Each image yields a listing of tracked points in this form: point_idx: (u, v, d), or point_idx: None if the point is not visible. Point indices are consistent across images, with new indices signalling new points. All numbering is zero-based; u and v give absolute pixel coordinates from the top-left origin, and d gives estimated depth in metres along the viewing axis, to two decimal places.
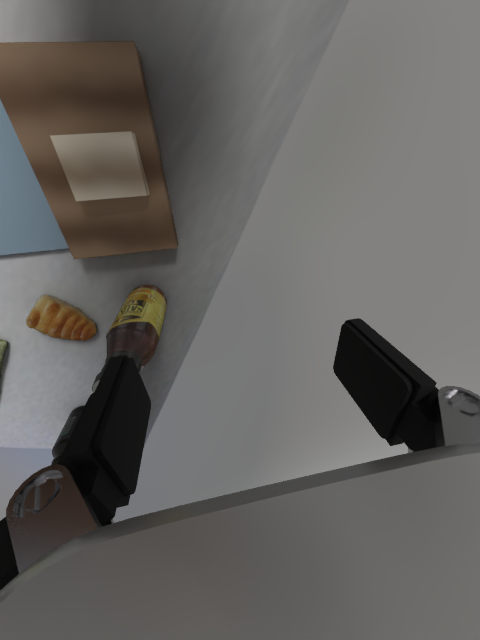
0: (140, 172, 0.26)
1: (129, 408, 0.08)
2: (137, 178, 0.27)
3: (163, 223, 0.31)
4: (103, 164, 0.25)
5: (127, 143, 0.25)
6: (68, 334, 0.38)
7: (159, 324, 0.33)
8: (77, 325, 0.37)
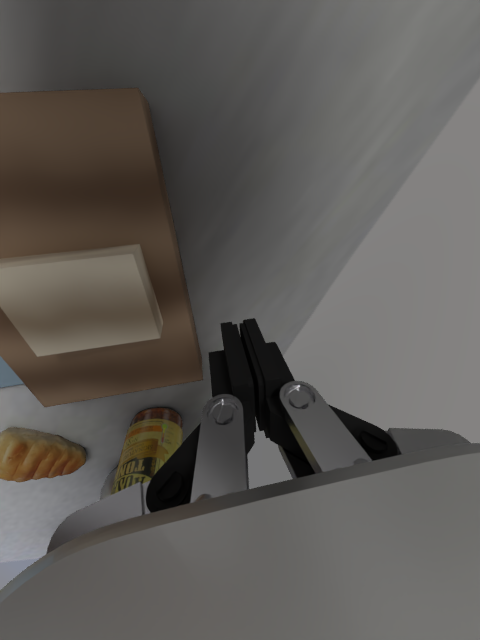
0: (149, 309, 0.15)
1: None
2: (144, 318, 0.15)
3: (184, 354, 0.20)
4: (82, 304, 0.14)
5: (126, 272, 0.13)
6: (43, 477, 0.26)
7: None
8: (56, 465, 0.26)
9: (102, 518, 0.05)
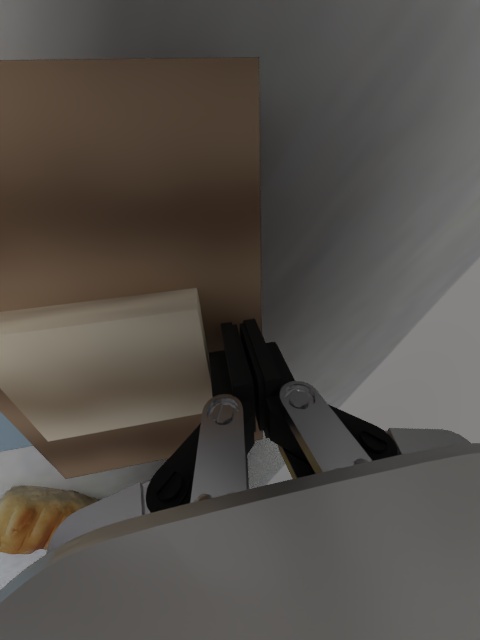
0: (207, 378, 0.11)
1: None
2: (199, 389, 0.11)
3: None
4: (117, 376, 0.10)
5: (184, 333, 0.09)
6: None
7: None
8: None
9: (103, 518, 0.05)
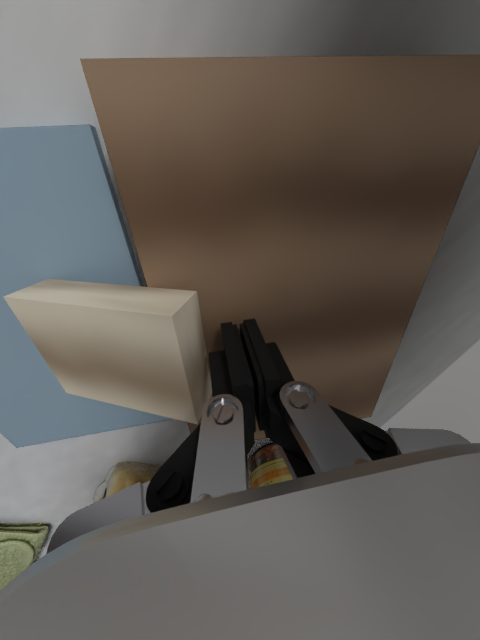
0: (187, 389, 0.10)
1: None
2: (179, 397, 0.10)
3: (369, 390, 0.17)
4: (107, 359, 0.10)
5: (160, 337, 0.08)
6: None
7: None
8: None
9: (102, 518, 0.05)
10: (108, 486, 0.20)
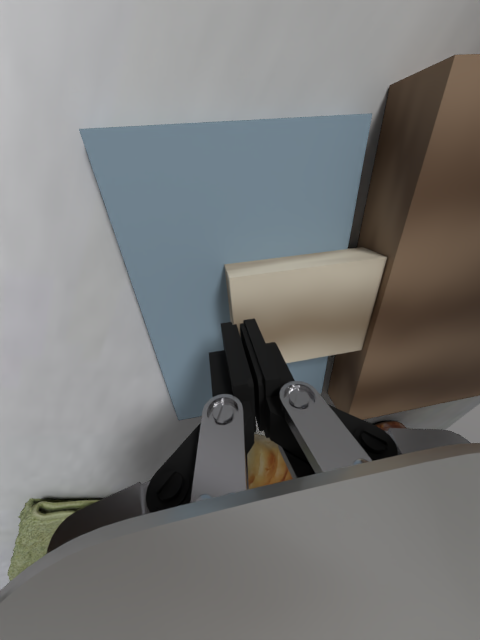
0: (368, 319, 0.14)
1: None
2: (359, 328, 0.14)
3: None
4: (310, 313, 0.13)
5: (370, 277, 0.12)
6: None
7: None
8: None
9: (103, 518, 0.05)
10: None
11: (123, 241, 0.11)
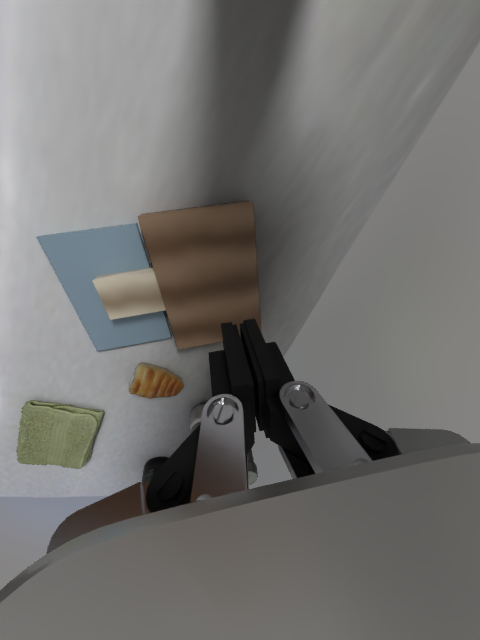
0: (161, 295, 0.33)
1: None
2: (158, 300, 0.33)
3: (253, 317, 0.37)
4: (132, 293, 0.32)
5: (151, 279, 0.32)
6: (162, 394, 0.42)
7: None
8: (169, 384, 0.41)
9: (102, 518, 0.05)
10: (135, 371, 0.40)
11: (55, 269, 0.31)
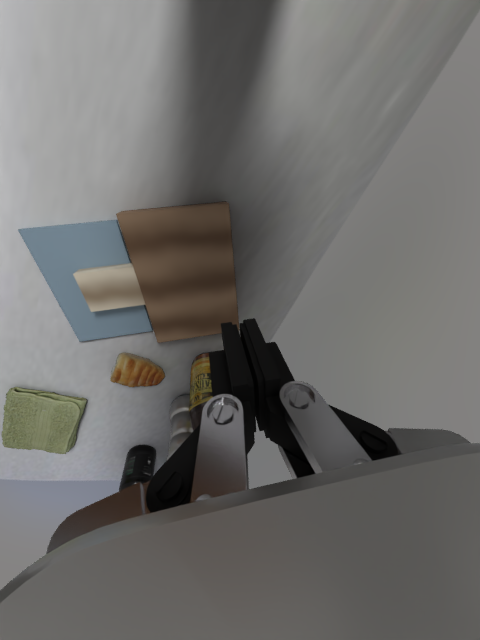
0: (140, 290, 0.34)
1: None
2: (138, 294, 0.34)
3: (231, 314, 0.39)
4: (112, 287, 0.33)
5: (130, 274, 0.33)
6: (143, 383, 0.43)
7: None
8: (150, 374, 0.43)
9: (102, 518, 0.05)
10: (116, 360, 0.41)
11: (37, 261, 0.32)
